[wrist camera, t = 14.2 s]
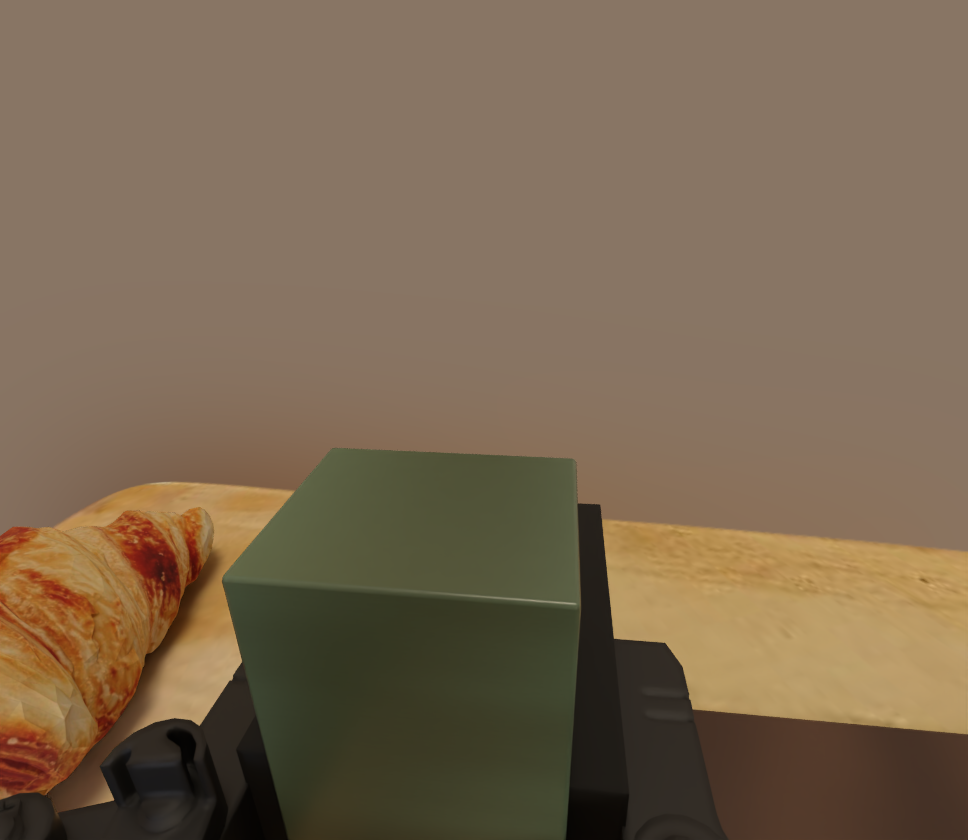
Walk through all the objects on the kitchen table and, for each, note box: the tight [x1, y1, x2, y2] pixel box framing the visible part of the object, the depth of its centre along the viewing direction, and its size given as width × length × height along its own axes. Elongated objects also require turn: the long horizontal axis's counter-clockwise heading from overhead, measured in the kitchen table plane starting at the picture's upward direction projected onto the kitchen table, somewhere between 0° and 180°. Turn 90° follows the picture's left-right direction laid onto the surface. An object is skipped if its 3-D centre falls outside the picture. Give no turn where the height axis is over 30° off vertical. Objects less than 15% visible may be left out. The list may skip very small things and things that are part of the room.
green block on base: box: [222, 448, 581, 840], centre depth 9 cm, size 5×9×10 cm, turn 172°
